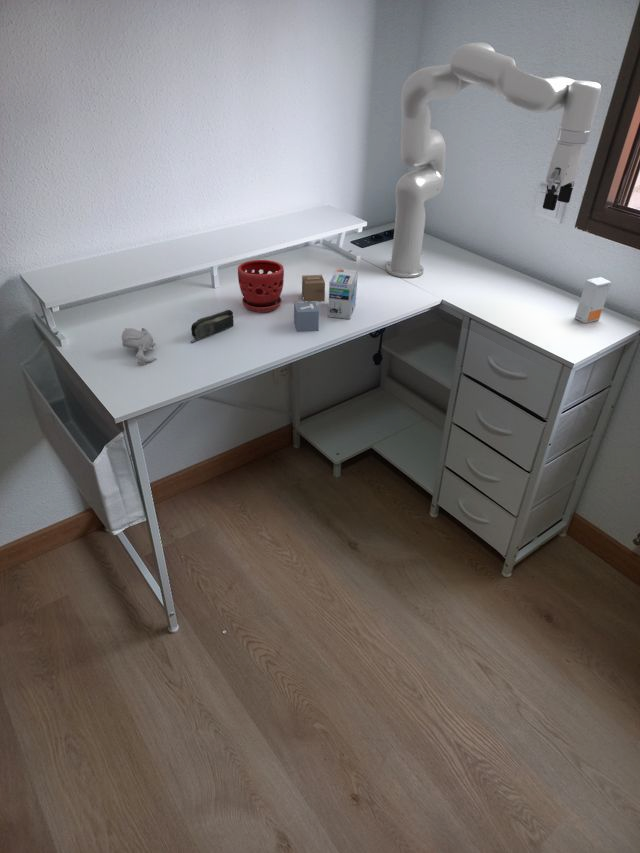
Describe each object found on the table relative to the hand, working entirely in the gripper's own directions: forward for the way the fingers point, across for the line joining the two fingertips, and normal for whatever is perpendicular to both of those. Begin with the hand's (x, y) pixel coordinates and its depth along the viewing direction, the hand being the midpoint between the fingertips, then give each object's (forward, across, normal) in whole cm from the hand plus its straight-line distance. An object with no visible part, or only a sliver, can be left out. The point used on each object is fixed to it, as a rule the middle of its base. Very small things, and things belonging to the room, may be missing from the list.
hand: (555, 205), depth 168 cm
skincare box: (+31, -7, +15) cm, 35 cm away
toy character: (+32, +94, -62) cm, 117 cm away
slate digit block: (+31, +54, -42) cm, 75 cm away
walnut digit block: (+31, +37, -53) cm, 72 cm away
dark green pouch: (+32, +74, -58) cm, 99 cm away
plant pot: (+32, +52, -60) cm, 86 cm away
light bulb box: (+32, +38, -41) cm, 64 cm away
